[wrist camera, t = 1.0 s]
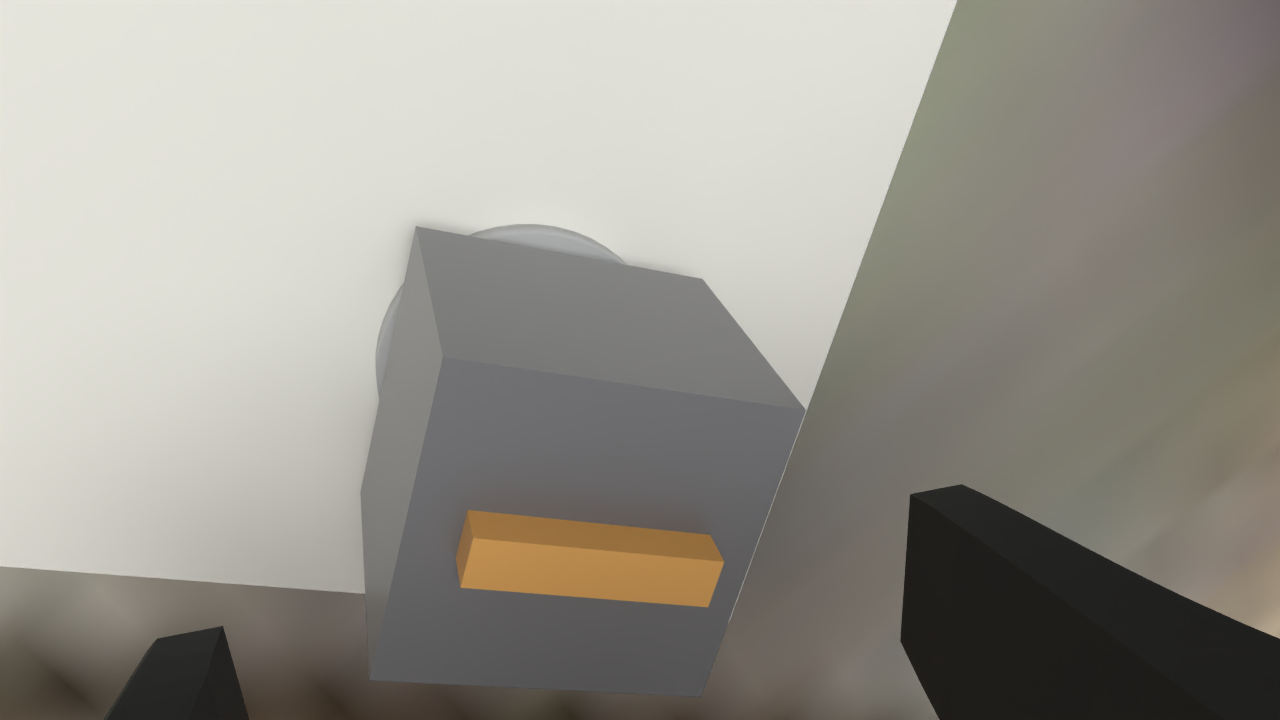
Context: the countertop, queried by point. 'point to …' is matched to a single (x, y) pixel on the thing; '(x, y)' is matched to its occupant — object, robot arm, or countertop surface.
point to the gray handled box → (563, 473)
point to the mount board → (381, 228)
